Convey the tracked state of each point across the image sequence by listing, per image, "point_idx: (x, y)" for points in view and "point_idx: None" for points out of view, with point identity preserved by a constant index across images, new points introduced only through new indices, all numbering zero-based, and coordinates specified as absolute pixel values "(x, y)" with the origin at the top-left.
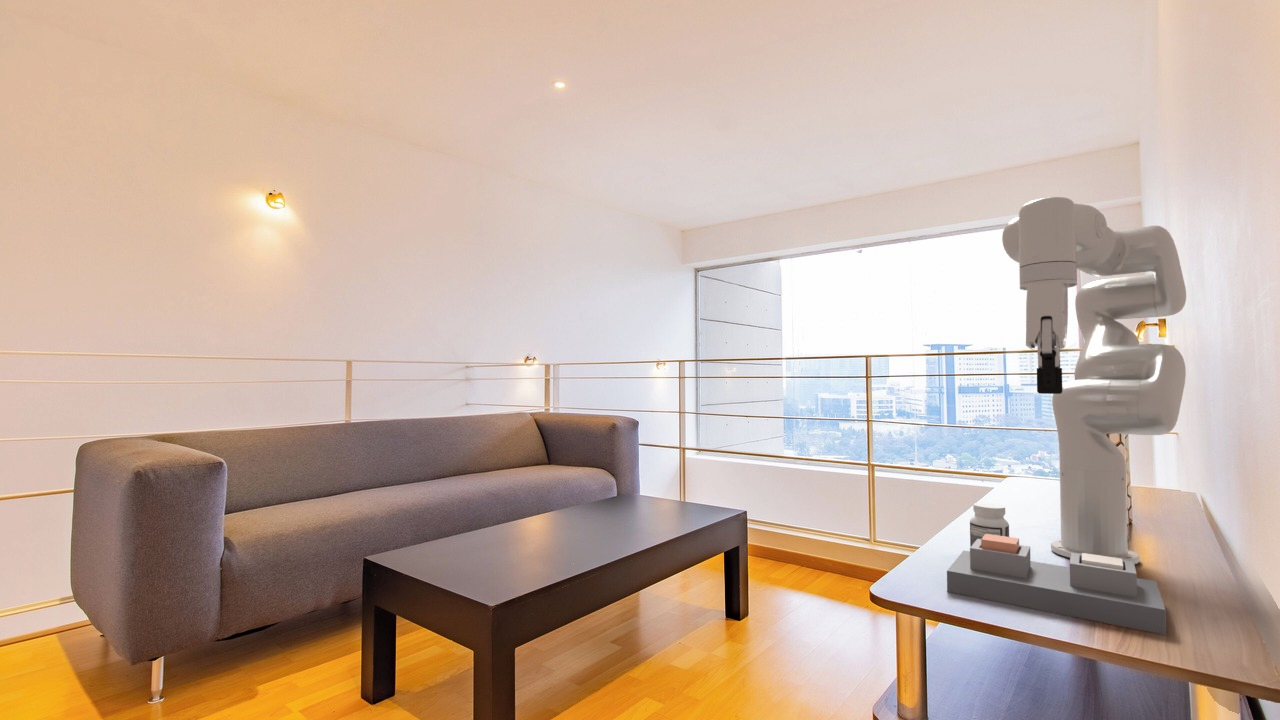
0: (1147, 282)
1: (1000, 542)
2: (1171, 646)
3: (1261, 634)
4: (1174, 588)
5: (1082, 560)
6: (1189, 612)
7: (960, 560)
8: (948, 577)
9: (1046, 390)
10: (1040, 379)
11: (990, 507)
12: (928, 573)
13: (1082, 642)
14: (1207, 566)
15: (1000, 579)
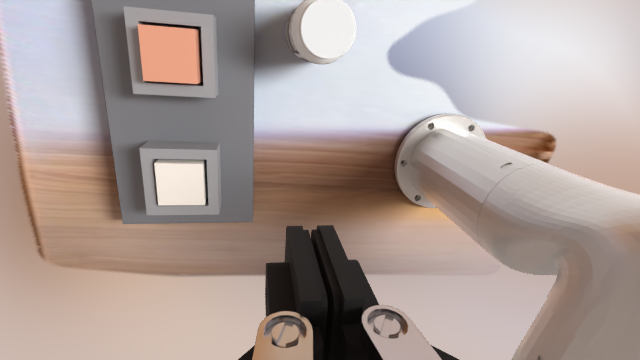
0: None
1: (141, 56)
2: (96, 213)
3: (206, 275)
4: None
5: (154, 163)
6: (238, 233)
7: None
8: None
9: (286, 260)
10: (291, 272)
11: (306, 32)
12: None
13: (28, 143)
14: (449, 259)
15: (103, 56)
